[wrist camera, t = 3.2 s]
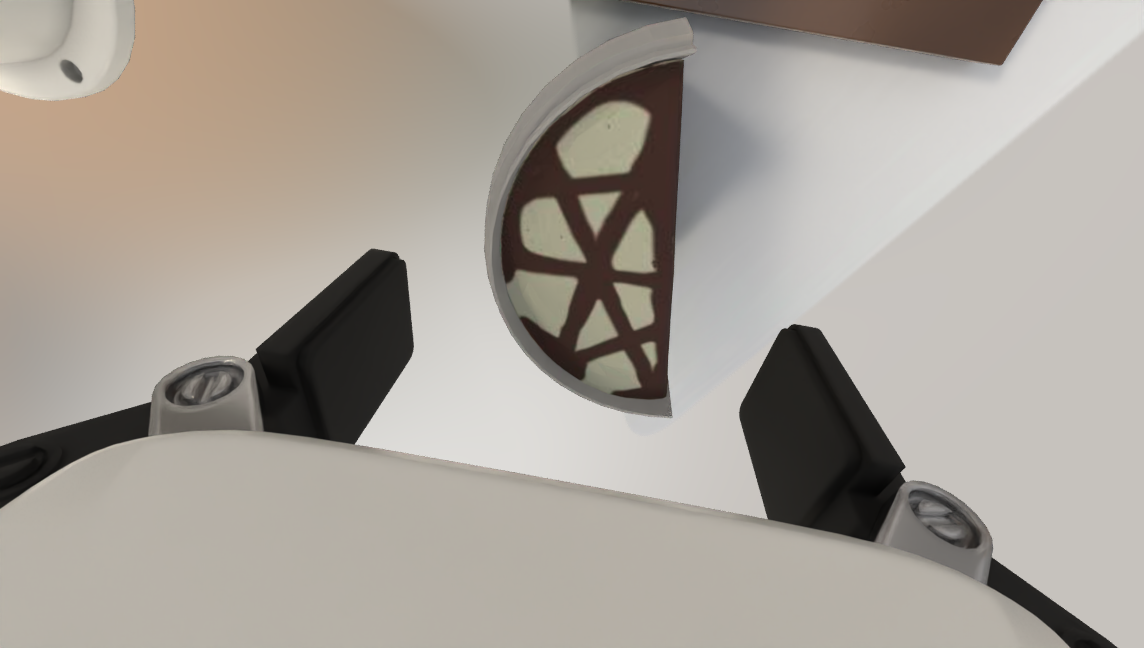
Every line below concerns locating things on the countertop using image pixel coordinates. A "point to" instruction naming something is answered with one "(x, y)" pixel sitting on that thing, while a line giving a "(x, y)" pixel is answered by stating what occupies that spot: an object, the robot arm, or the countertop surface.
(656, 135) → the food container
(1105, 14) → the countertop surface
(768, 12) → the cutting board
